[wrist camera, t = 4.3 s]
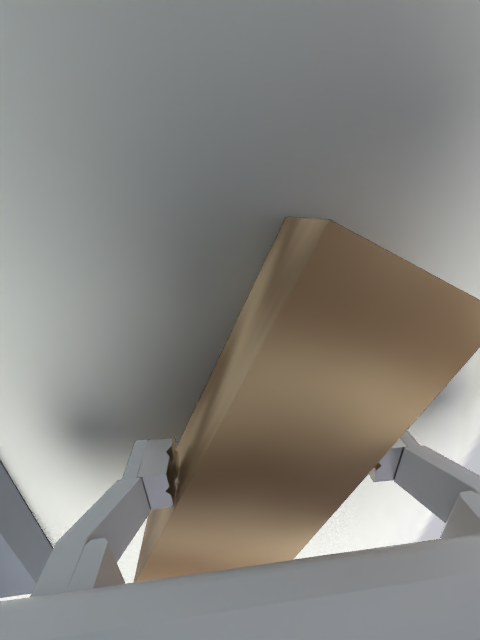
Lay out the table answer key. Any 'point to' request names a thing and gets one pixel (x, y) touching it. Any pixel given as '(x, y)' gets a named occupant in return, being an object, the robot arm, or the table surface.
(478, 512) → the robot arm
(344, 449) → the brown wooden block
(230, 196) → the table surface
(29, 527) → the peg rack
